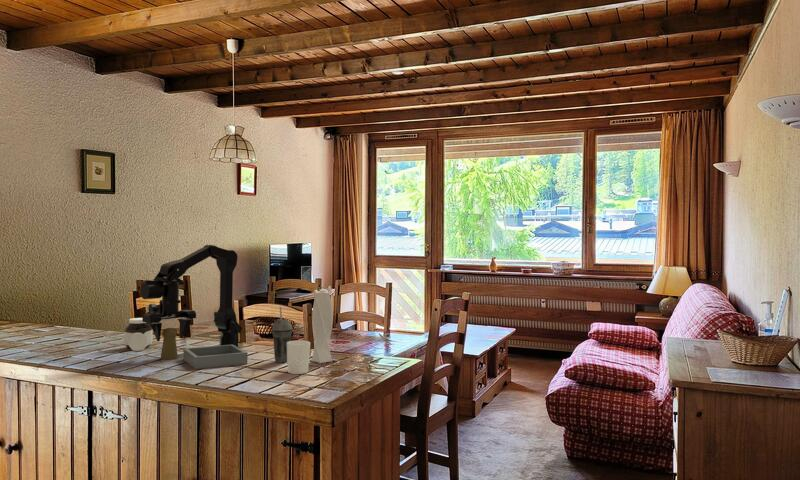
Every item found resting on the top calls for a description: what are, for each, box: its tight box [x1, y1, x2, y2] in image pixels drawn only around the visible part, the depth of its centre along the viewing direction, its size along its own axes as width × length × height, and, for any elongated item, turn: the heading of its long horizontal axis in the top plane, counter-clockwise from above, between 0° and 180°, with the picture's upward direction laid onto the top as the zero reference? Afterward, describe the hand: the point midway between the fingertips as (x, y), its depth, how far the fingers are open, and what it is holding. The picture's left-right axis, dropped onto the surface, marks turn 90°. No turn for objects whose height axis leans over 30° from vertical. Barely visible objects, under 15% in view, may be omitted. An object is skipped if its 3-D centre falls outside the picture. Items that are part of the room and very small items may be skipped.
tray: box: [183, 345, 248, 370], centre depth 208 cm, size 18×18×4 cm
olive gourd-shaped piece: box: [160, 327, 179, 361], centre depth 213 cm, size 6×6×11 cm
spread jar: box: [123, 317, 154, 352], centre depth 229 cm, size 12×11×12 cm
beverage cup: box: [271, 306, 293, 364], centre depth 210 cm, size 7×7×20 cm
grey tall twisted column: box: [309, 285, 334, 365], centre depth 211 cm, size 8×8×28 cm
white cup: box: [286, 339, 311, 375], centre depth 194 cm, size 8×8×10 cm
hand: (169, 339), depth 213 cm, fingers open, 9 cm apart
